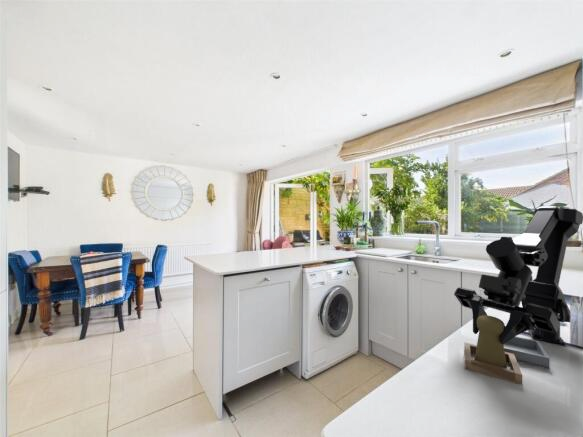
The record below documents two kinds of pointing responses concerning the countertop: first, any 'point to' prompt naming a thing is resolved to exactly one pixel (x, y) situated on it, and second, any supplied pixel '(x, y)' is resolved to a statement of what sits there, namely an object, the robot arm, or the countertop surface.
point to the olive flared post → (490, 341)
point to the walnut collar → (493, 366)
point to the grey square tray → (528, 351)
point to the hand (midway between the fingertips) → (487, 337)
